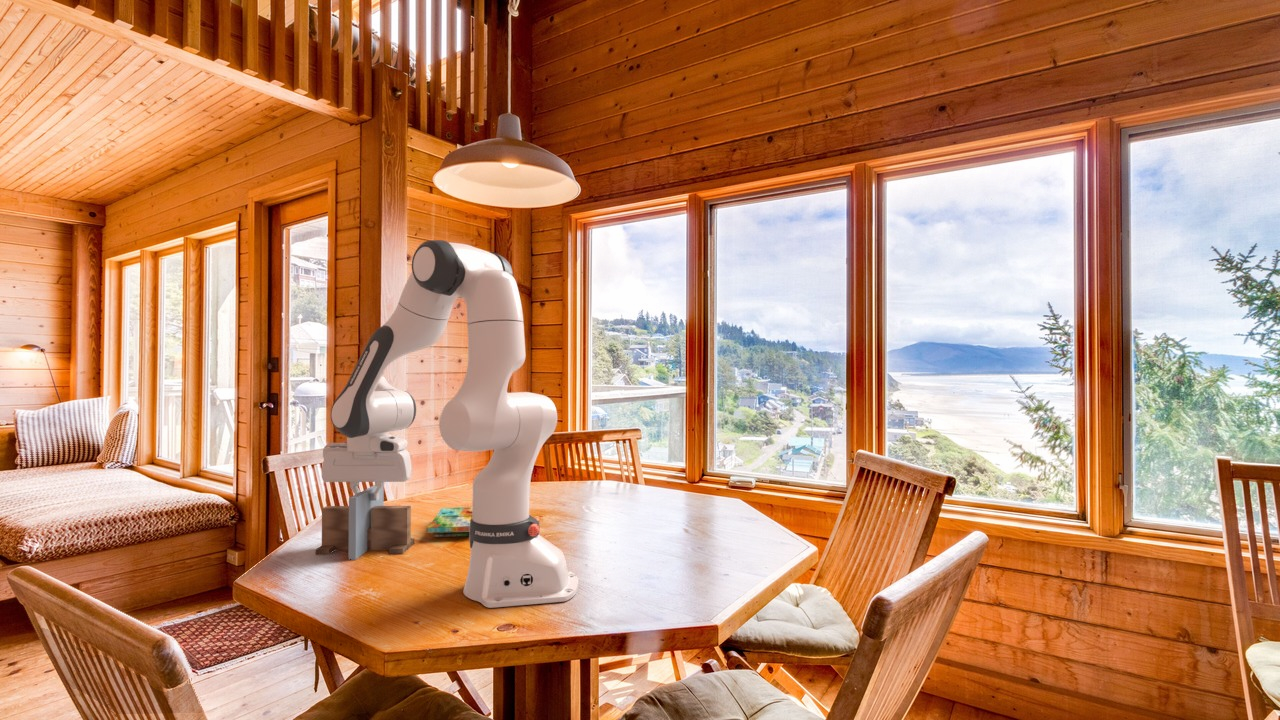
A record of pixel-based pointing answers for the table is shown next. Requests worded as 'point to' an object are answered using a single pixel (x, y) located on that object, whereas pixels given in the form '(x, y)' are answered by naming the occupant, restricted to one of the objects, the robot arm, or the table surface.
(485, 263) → the robot arm
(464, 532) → the puzzle game
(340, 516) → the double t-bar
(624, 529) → the table surface
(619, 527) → the table surface
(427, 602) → the table surface
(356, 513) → the grey notched slab
